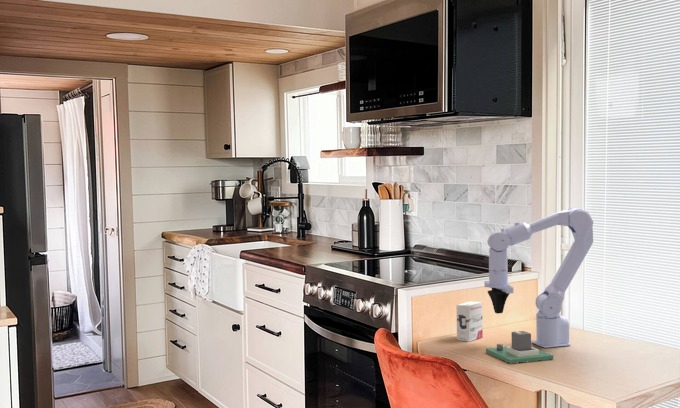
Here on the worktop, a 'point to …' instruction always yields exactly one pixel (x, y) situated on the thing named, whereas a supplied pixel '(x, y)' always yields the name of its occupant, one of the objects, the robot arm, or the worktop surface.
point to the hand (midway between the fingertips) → (498, 312)
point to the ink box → (469, 321)
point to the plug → (521, 340)
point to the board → (518, 354)
